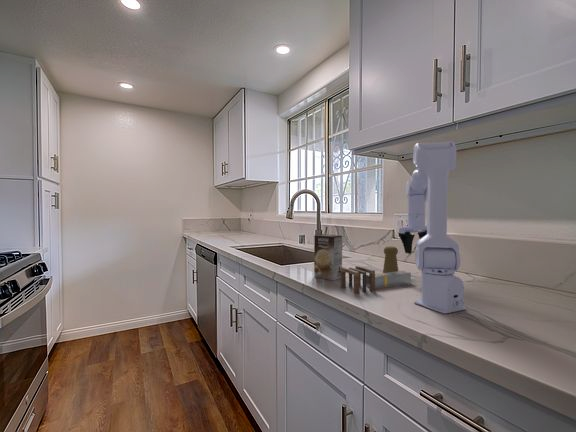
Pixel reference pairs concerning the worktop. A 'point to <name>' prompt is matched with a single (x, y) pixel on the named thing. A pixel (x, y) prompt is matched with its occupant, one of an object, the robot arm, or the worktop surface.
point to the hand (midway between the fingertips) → (416, 252)
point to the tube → (390, 279)
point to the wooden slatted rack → (357, 278)
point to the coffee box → (327, 256)
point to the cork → (390, 259)
